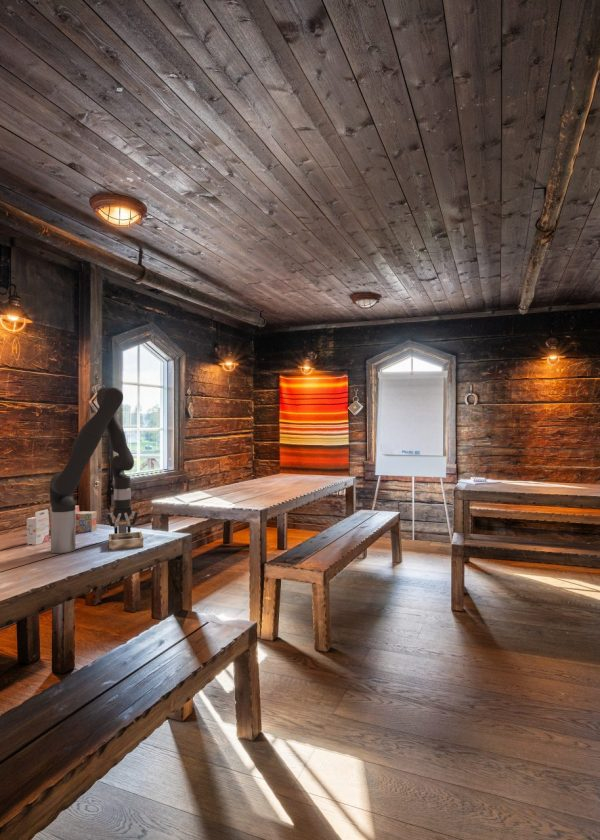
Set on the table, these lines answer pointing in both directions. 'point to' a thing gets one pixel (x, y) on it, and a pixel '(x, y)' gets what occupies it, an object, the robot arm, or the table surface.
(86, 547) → the table surface
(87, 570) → the table surface
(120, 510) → the robot arm
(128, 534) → the box
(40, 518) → the ink cartridge box
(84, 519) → the multicoloured rectangular block
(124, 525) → the connector
